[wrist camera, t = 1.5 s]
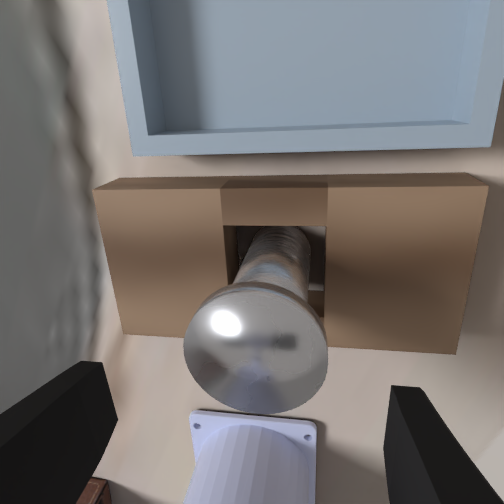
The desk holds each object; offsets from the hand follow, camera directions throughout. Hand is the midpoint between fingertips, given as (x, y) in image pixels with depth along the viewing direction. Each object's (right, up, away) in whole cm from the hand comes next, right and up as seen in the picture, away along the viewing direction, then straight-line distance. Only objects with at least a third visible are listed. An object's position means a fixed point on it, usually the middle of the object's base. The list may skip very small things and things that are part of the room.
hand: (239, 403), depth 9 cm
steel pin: (+2, +4, +10) cm, 10 cm away
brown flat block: (+2, +4, +10) cm, 10 cm away
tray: (+2, +13, +5) cm, 15 cm away
